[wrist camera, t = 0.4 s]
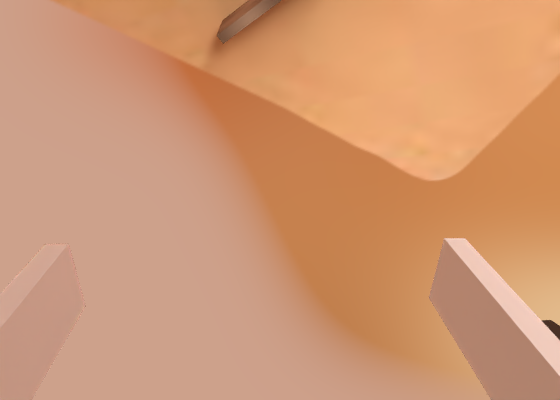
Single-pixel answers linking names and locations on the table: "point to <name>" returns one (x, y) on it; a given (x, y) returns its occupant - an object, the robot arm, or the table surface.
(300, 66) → the table surface
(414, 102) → the table surface
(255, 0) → the bay rack
